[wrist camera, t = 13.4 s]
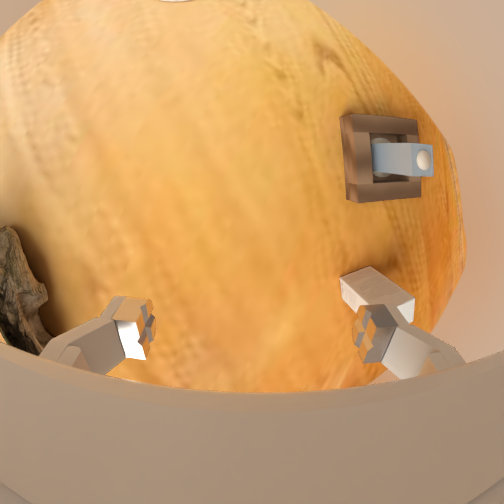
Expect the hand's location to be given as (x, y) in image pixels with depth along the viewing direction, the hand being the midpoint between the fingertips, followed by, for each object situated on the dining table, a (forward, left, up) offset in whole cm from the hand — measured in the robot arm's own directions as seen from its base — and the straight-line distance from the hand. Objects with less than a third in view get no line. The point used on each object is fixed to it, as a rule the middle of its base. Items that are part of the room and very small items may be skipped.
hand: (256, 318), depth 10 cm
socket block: (-11, +22, -27) cm, 36 cm away
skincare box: (+9, +23, -27) cm, 36 cm away
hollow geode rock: (+18, -33, -27) cm, 46 cm away
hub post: (-11, +22, -25) cm, 35 cm away
